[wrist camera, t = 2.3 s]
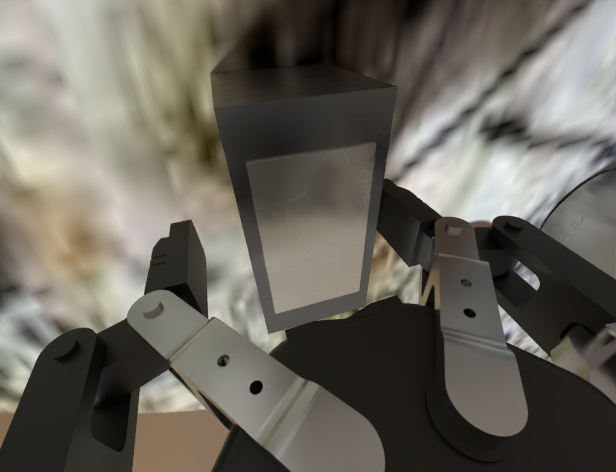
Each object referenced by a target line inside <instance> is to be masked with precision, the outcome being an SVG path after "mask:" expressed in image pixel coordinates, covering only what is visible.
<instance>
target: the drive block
mask: <svg viewBox="0 0 616 472" xmlns="http://www.w3.org/2000/svg"><path fill="white" fill-rule="evenodd" d="M210 77H211V86H212V96H213V105H214V111H215V115H216V119H217V123H218V127H219V131H220V136H221V140H222V144H223V148H224V152H225V156H226V160H227V165H228V169H229V173H230V177H231V181H232V185H233V189H234V193H235V198H236V202H237V206H238V210H239V214H240V218H241V222H242V227H243V231H244V235H245V239H246V243H247V247H248V251H249V256H250V260H251V264H252V268H253V272H254V276H255V280H256V284H257V289H258V293H259V297H260V301H261V305H262V309H263V313H264V318H265V322H266V326H267V330H268V334H270V333H274V332H277V331H281V330H284V329H288V328H291V327H295V326H298V325H302V324H305V323H309V322H312V321H316V320H319V319H323V318H326V317H330V316H333V315H337V314H340V313H344V312H347V311H351V310H354V309H358V308H361V307H365V304H366V297H367V290H368V283H369V276H370V269H371V262H372V255H373V249H374V242H375V235H376V228H377V221H378V214H379V207H380V200H381V193H382V187H383V180H384V173H385V166H386V159H387V152H388V145H389V138H390V131H391V125H392V118H393V111H394V104H395V97H396V90H397V87H396V86H393V85H390V84H388V83H385V82H382V81H379V80H376V79H373V78H370V77H367V76H364V75H361V74H358V73H355V72H352V71H349V70H346V69H343V68H340V67H337V66H334V65H331V64H328V63H318V64H307V65H297V66H286V67H275V68H264V69H253V70H242V71H231V72H220V73H210Z"/></svg>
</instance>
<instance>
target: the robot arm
mask: <svg viewBox="0 0 616 472" xmlns="http://www.w3.org/2000/svg"><path fill="white" fill-rule="evenodd" d="M376 229H377V230H378V232H379V233H380V234H381V235H382V236H383V237H384V239H385V240H386V241H387V242H388V243H389V244H390V246H391V247H392V248H393V249H394V250H395V251H396V253H397V254H398V255H399V256H400V257H401V258H402V260H403V261H404V262H405V263H406V264H407V265H408V266H409V267H411V266H415V265H418V264H420V265H421V266H422V268H421V272H420V287H419V304H410V303H402V302H401V301H400V299H399V298H398V296H397V295H396V296H393V297H389V298H386V299H383V300H380V301H377V302H373V303H371V304H369V305H367V306H366V307H364V308H363V309H361V310H360V311H358V312H356V313H355V314H353V315H352V316H350V317H348V318H346V319H334V320H320V321H312V322H309V323H306V324H303V325H300V326H296V327H293V328H290V329H287V330H285V333H286V338H287V339H286V340H285V341H283V342H282V343H280V344H279V345H278V346H277V347H275V348H274V349H273V350H272V351H271V352H270V353H269V354H267V353H266V352H264V351H263V350H262V349H260V348H259V347H257V346H256V345H255V344H253V343H252V342H250V341H249V340H248V339H246V338H245V337H243V336H242V335H241V334H239V333H238V332H236V331H235V330H234V329H232V328H231V327H229V326H228V325H227V324H225V323H224V322H222V321H221V320H220V319H218V318H216V317H212V318H211V319H210V320H209V319H208V302H207V273H206V258H205V253H204V250H203V247H202V245H201V242H200V240H199V237H198V235H197V232H196V229H195V227H194V225H193V222H192V221H191V220H186V221H181V222H177V223H172V224H171V226H170V234H169V237H166V238H161V239H160V240H159V241H158V242H157V244H156V245H155V246H154V248H153V251H152V256H151V258H152V259H151V261H150V268H149V272H148V277H147V282H146V287H145V292H144V296H142V297H141V298H139V299H138V300H137V301H136V302H135V303H134V304H133V305H132V306H131V308H130V309H129V311H128V314H127V318H126V319H124V320H123V321H121V322H119V323H117V324H115V325H113V326H111V327H109V328H107V329H105V330H103V331H101V332H99V333H97V334H96V333H95V332H94V331H93V330H92V329H90V328H77V329H73V330H71V331H68V332H66V333H64V334H62V335H60V336H59V337H57V338H56V339H54V340H53V341H52V342H51V343H49V344H48V345H47V346H46V347H45V348H44V350H43V351H42V352H41V353H40V355H39V357H38V358H37V361H36V363H35V365H34V368H33V370H32V373H31V375H30V378H29V380H28V383H27V385H26V387H25V390H24V392H23V395H22V397H21V400H20V402H19V405H18V407H17V409H16V412H15V414H14V417H13V419H12V422H11V424H10V427H9V429H8V431H7V434H6V436H5V439H4V441H3V444H2V446H1V449H0V472H132V466H133V455H134V445H135V434H136V423H137V413H138V402H139V392H140V387H141V386H143V385H144V384H146V383H147V382H149V381H151V380H152V379H154V378H155V377H157V376H159V375H160V374H162V373H163V372H165V371H167V370H168V371H169V372H170V373H171V374H172V375H173V376H174V377H175V378H176V379H177V380H178V381H179V382H180V383H181V384H182V385H183V386H184V387H185V388H186V389H187V390H188V391H189V392H190V393H191V394H192V395H193V396H194V397H195V398H196V399H197V400H198V401H199V402H200V403H201V404H202V405H203V406H204V407H205V408H206V409H207V410H208V412H209V413H210V414H211V415H212V416H213V417H214V418H215V419H216V420H217V421H218V422H219V423H220V424H221V425H222V426H223V427H224V428H225V429H226V430H227V431H228V432H229V434H228V436H227V438H226V441H225V443H224V445H223V447H222V449H221V451H220V454H219V456H218V458H217V460H216V462H215V464H214V466H213V469H212V471H211V472H616V169H614V170H610V171H607V172H605V173H602V174H600V175H598V176H597V177H595V178H593V179H591V180H589V181H588V182H587V183H585V184H584V185H582V186H581V187H579V188H578V189H577V190H576V191H574V192H573V193H572V194H571V195H570V196H568V197H567V198H566V199H565V200H564V201H563V202H562V203H561V204H560V205H559V206H558V207H557V208H556V209H555V211H554V212H553V213H552V214H551V215H550V217H549V218H548V219H547V221H546V222H545V224H544V225H543V227H542V229H541V230H540V229H538V228H537V227H535V226H534V225H532V224H531V223H529V222H527V221H525V220H523V219H521V218H518V217H514V216H498V217H496V218H494V220H493V222H492V224H491V226H490V227H472V225H471V224H469V223H468V222H467V221H465V220H462V219H460V218H456V217H442V216H441V215H439V214H438V213H437V212H436V211H434V210H433V209H432V208H431V207H429V206H428V205H427V204H426V203H423V201H422V200H421V199H419V198H417V196H416V195H414V194H413V193H412V192H411V191H409V190H407V189H404V188H402V187H398V186H397V185H395V184H394V183H393V182H392V181H391V180H389V179H384V180H383V187H382V193H381V200H380V207H379V214H378V221H377V228H376ZM518 261H520V262H521V263H522V264H523V265H525V266H526V267H527V268H528V269H529V270H531V271H532V272H533V273H534V274H536V276H537V277H538V279H539V281H540V287H539V289H538V290H537V291H536V290H535V289H534V288H533V287H532V286H531V285H529V284H528V283H527V282H526V281H525V280H524V279H522V278H521V277H520V276H519V275H518V274H516V273H515V272H514V271H513V270H514V268H515V266H516V265H517V263H518ZM497 303H498V304H499V305H500V306H501V307H502V308H503V309H504V310H505V311H506V312H507V313H508V314H509V315H510V317H511V318H512V319H513V320H514V321H515V322H516V323H517V324H518V325H519V326H520V327H521V328H522V329H523V330H524V331H525V332H526V333H527V334H528V335H529V336H530V337H531V338H532V339H533V340H534V341H535V342H536V343H537V344H538V345H539V346H540V347H541V348H542V349H543V350H544V351H545V352H546V353H547V354H548V355H549V356H550V357H551V359H552V361H553V363H551V362H548V361H546V360H544V359H542V358H540V357H538V356H535V355H533V354H531V353H529V352H527V351H524V350H522V349H520V348H518V347H516V346H513V345H511V344H509V343H507V342H505V337H504V332H503V327H502V323H501V318H500V313H499V308H498V304H497Z"/></svg>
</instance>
